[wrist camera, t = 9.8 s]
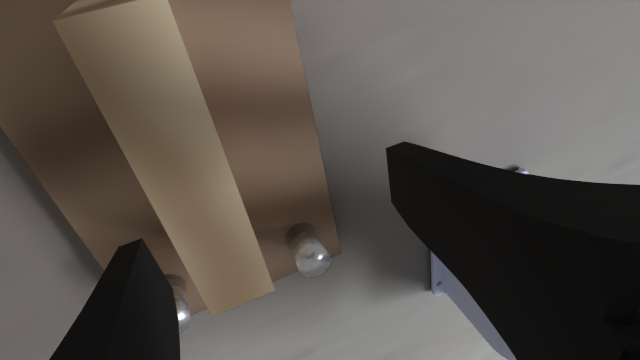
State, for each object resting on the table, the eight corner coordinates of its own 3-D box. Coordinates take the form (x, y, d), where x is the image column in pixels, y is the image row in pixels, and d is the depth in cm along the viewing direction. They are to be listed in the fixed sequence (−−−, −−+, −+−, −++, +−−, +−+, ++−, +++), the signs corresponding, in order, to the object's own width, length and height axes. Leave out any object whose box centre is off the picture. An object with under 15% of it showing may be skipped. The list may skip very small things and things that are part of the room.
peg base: (334, 241, 26) (358, 280, 23) (148, 316, 23) (148, 371, 20) (232, -232, 13) (257, -282, 10) (-191, -174, 11) (-319, -217, 8)
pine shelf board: (159, -22, 14) (165, -7, 10) (250, 223, 21) (275, 290, 17) (79, -3, 14) (51, 21, 10) (199, 243, 21) (212, 316, 17)
